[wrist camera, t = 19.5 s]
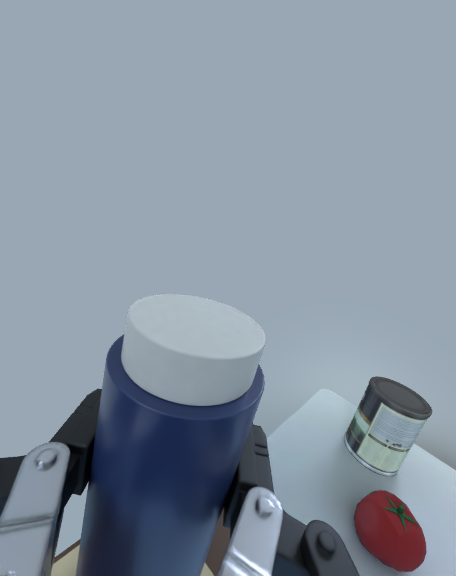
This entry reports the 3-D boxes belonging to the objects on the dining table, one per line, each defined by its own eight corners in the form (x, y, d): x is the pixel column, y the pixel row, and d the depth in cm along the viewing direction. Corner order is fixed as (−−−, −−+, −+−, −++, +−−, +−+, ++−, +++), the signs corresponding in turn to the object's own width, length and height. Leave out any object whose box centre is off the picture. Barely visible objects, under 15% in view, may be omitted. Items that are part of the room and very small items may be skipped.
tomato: (374, 507, 41) (393, 473, 39) (425, 574, 34) (451, 536, 32) (336, 519, 38) (355, 482, 36) (384, 595, 31) (410, 554, 29)
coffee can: (333, 435, 54) (359, 378, 50) (363, 426, 59) (389, 374, 55) (378, 483, 45) (413, 419, 42) (409, 469, 50) (443, 410, 47)
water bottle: (203, 649, 11) (313, 366, 7) (57, 723, 9) (110, 369, 5) (178, 514, 15) (238, 297, 12) (78, 540, 13) (113, 282, 10)
